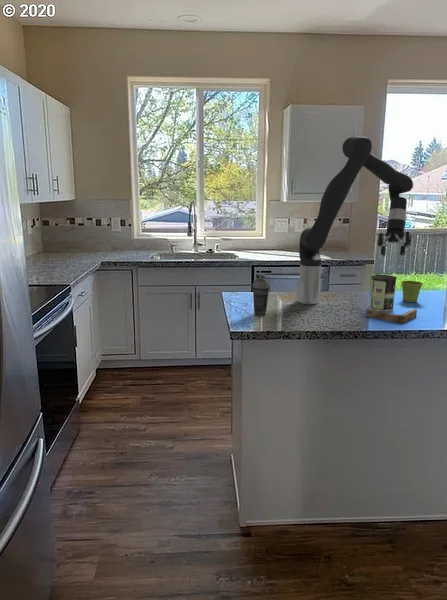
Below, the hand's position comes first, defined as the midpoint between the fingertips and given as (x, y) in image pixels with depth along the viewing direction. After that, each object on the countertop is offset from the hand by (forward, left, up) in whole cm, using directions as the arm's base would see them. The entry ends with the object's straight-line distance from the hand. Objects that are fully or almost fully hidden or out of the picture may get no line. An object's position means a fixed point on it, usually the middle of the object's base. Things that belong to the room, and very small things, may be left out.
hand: (392, 255), depth 205 cm
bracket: (-18, -25, -21) cm, 37 cm away
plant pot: (+10, -3, -22) cm, 24 cm away
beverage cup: (-66, 0, -22) cm, 69 cm away
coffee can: (-12, -9, -22) cm, 26 cm away
